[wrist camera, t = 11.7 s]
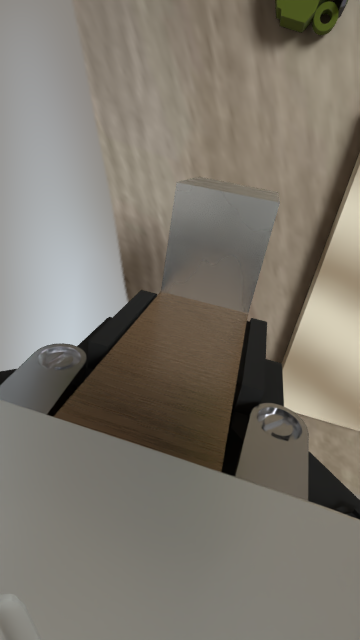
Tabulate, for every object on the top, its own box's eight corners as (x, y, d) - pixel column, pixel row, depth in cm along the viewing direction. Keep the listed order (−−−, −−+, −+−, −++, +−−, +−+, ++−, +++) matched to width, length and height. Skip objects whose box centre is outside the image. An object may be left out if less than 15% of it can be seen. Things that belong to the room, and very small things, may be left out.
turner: (200, 176, 13) (39, 213, 4) (278, 192, 12) (288, 269, 4) (164, 381, 17) (54, 604, 9) (220, 398, 17) (163, 651, 8)
